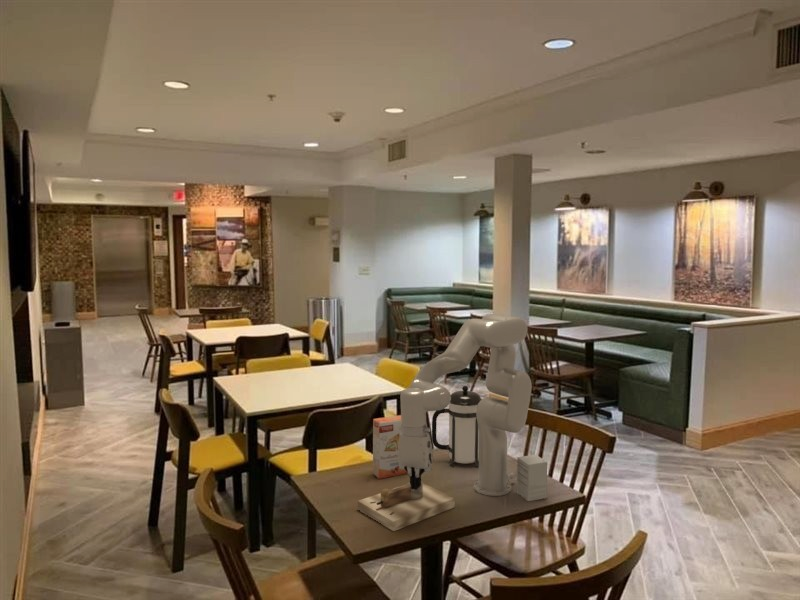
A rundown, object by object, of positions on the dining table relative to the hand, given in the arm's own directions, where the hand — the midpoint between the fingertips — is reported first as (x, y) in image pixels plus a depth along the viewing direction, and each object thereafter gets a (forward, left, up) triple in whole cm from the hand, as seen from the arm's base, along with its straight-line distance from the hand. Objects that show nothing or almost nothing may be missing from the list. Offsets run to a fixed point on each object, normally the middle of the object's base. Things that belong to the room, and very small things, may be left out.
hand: (415, 487), depth 179 cm
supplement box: (-41, +12, -10) cm, 44 cm away
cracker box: (-17, -32, -10) cm, 38 cm away
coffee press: (-44, -24, -10) cm, 51 cm away
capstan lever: (0, -7, -7) cm, 10 cm away
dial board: (-2, -7, -10) cm, 12 cm away
